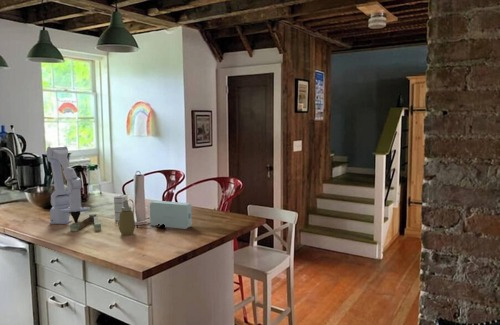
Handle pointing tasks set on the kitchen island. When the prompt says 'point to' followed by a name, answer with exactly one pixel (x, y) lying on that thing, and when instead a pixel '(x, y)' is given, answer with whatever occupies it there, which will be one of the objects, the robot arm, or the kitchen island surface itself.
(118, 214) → the syrup box
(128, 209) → the squeeze bottle
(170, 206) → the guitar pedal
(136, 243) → the kitchen island surface
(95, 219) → the fixed tong arm
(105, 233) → the kitchen island surface
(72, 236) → the kitchen island surface
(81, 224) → the bar
